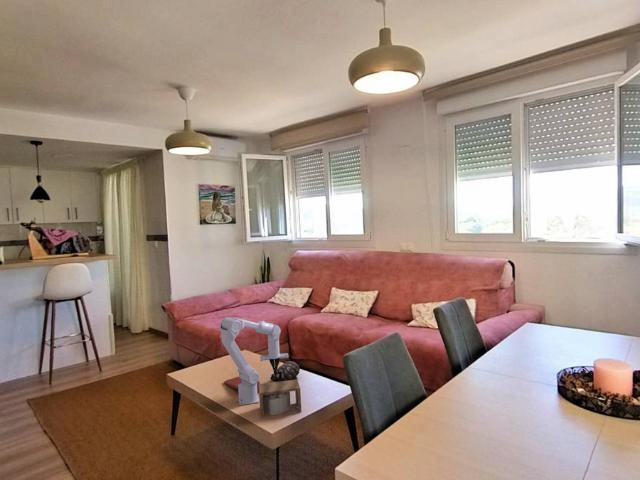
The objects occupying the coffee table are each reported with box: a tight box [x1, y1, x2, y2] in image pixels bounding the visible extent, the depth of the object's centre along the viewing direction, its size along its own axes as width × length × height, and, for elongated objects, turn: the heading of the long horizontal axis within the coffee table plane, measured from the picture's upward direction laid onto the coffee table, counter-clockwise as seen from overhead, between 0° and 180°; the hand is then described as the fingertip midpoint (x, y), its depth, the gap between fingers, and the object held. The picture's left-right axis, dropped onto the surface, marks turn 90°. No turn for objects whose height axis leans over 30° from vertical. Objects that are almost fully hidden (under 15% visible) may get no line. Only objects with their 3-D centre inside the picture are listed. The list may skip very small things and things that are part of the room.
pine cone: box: [269, 360, 301, 383], centre depth 216 cm, size 10×18×10 cm, turn 142°
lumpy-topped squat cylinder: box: [263, 391, 292, 416], centre depth 186 cm, size 10×13×9 cm
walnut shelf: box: [258, 379, 302, 419], centre depth 183 cm, size 18×10×12 cm, turn 102°
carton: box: [223, 376, 261, 394], centre depth 212 cm, size 12×5×25 cm
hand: (275, 372), depth 205 cm, fingers closed
